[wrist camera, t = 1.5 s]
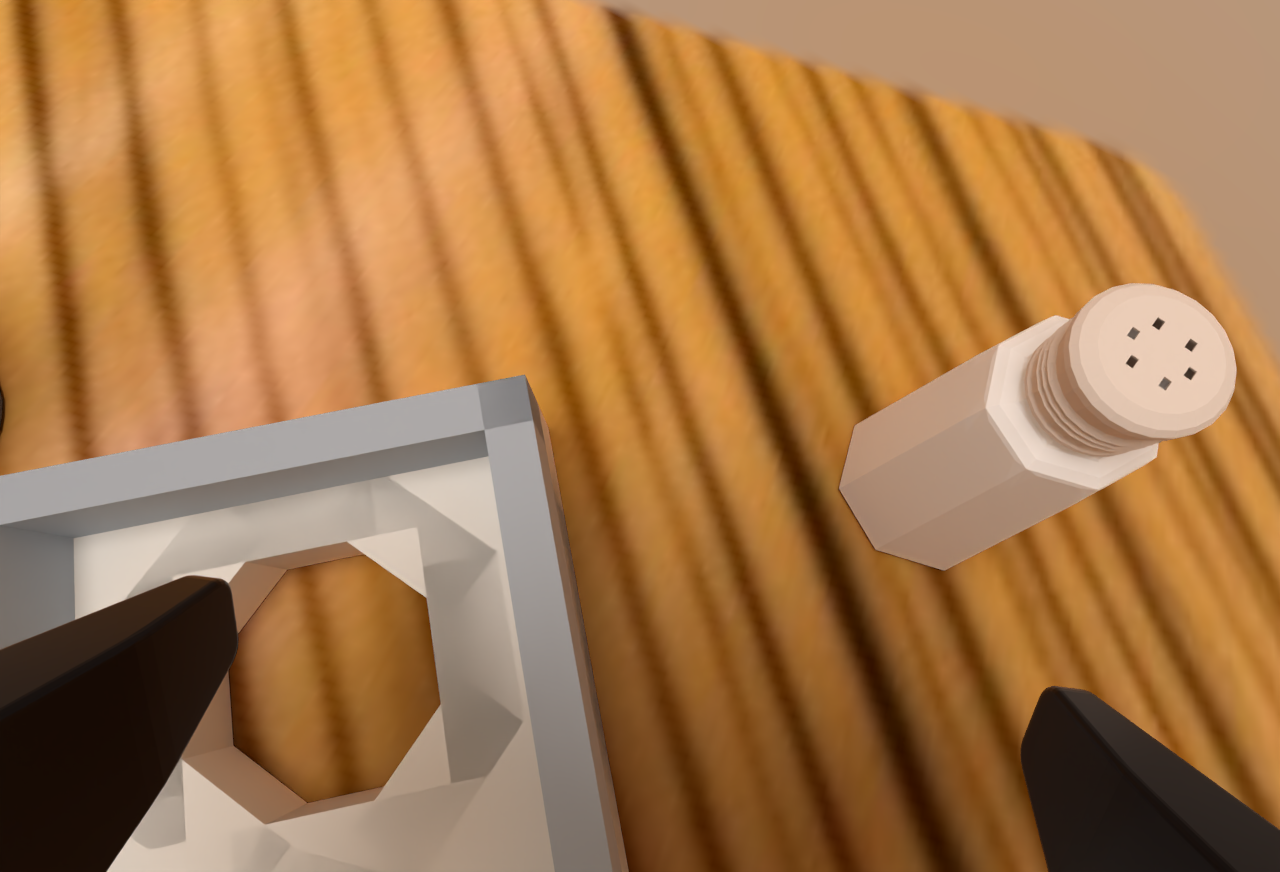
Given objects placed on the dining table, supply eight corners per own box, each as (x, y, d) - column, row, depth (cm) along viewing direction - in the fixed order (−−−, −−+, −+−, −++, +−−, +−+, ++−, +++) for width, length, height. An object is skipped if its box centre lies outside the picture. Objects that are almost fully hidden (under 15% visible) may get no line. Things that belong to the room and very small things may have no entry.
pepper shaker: (800, 493, 23) (935, 372, 13) (903, 363, 24) (1105, 153, 14) (949, 609, 23) (1226, 586, 12) (1048, 470, 24) (1385, 333, 13)
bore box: (653, 1010, 20) (658, 1129, 15) (107, 1139, 19) (-73, 1309, 14) (548, 427, 24) (525, 374, 19) (91, 517, 23) (-54, 486, 18)
